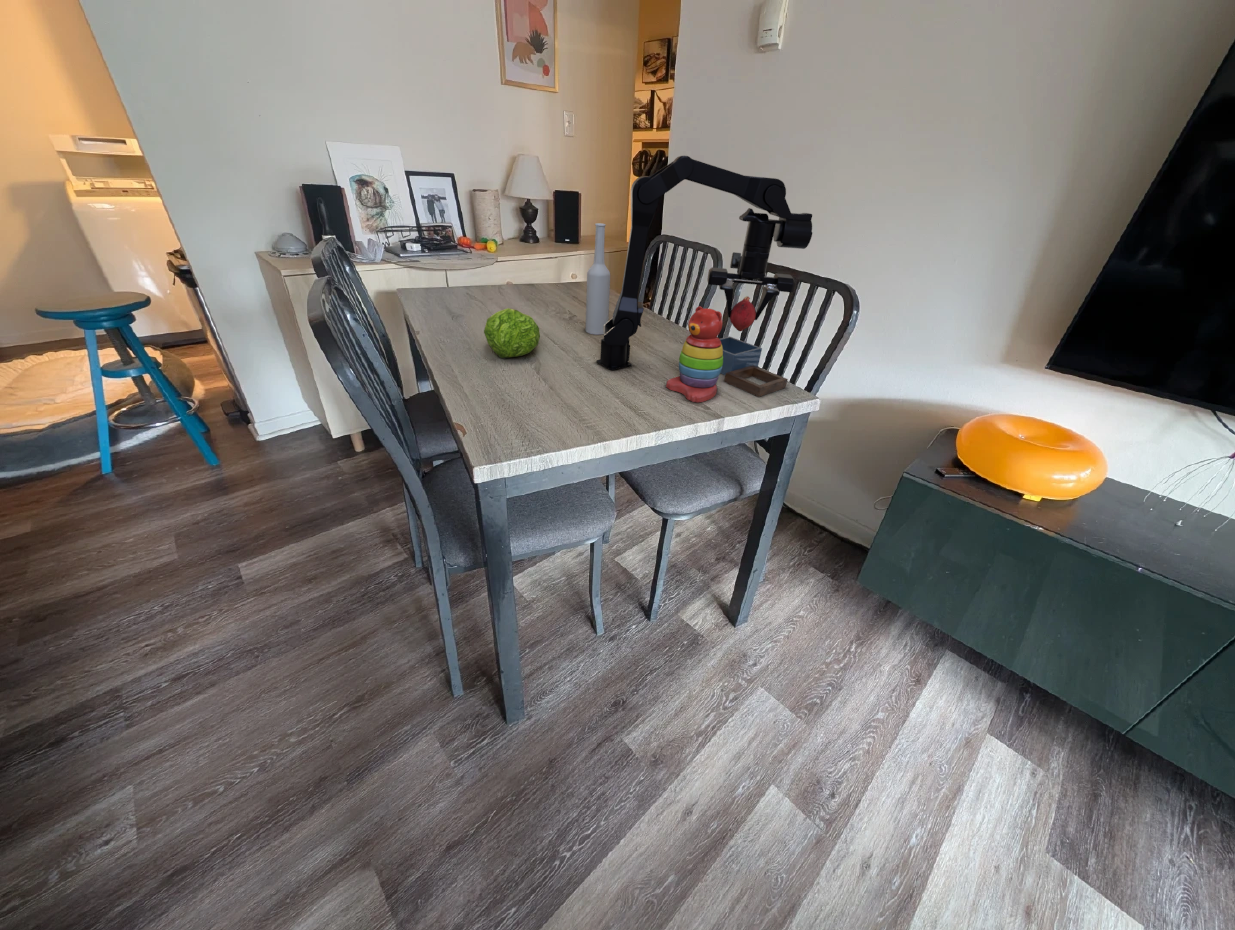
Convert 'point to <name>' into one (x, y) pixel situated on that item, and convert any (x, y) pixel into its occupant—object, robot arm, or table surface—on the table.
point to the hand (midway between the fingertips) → (742, 318)
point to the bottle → (598, 287)
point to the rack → (771, 386)
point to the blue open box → (738, 354)
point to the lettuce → (511, 333)
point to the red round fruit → (743, 314)
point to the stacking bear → (700, 357)
